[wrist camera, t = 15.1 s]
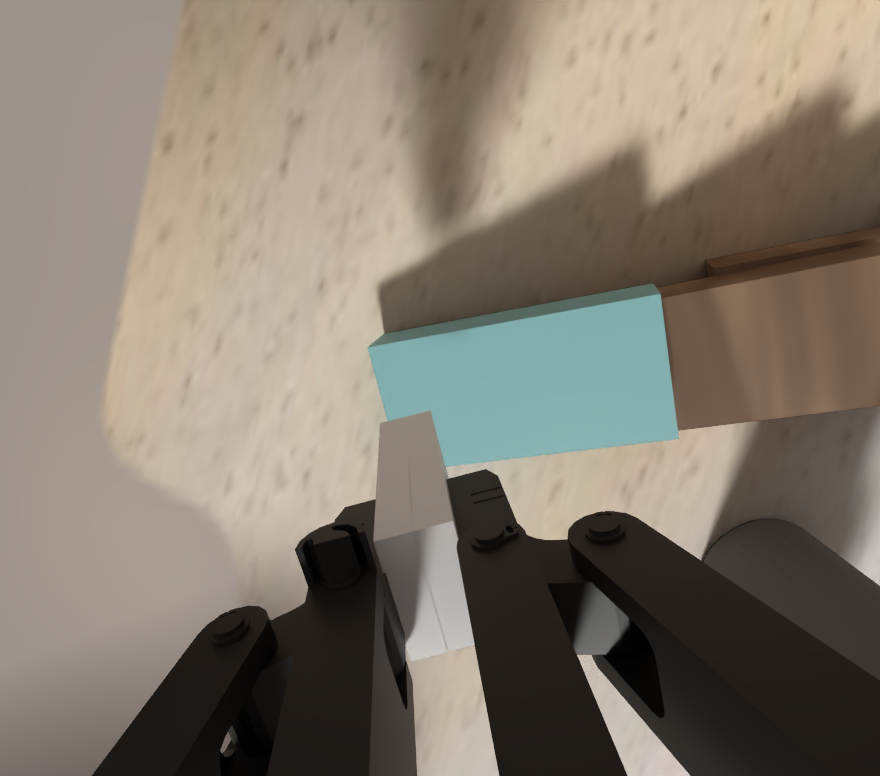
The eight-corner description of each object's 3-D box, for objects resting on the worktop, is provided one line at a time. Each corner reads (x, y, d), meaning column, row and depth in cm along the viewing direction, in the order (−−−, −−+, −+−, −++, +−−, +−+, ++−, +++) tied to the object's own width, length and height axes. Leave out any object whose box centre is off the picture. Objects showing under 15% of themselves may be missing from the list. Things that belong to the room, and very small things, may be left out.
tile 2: (598, 440, 23) (909, 402, 20) (572, 315, 22) (901, 251, 18) (600, 419, 25) (885, 381, 21) (577, 304, 24) (877, 242, 20)
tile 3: (727, 396, 23) (1052, 354, 20) (714, 268, 22) (1061, 202, 19) (718, 379, 25) (1014, 339, 22) (705, 260, 24) (1020, 199, 20)
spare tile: (401, 471, 23) (678, 438, 20) (367, 347, 21) (660, 293, 19) (414, 449, 25) (670, 416, 22) (384, 333, 23) (653, 283, 21)
